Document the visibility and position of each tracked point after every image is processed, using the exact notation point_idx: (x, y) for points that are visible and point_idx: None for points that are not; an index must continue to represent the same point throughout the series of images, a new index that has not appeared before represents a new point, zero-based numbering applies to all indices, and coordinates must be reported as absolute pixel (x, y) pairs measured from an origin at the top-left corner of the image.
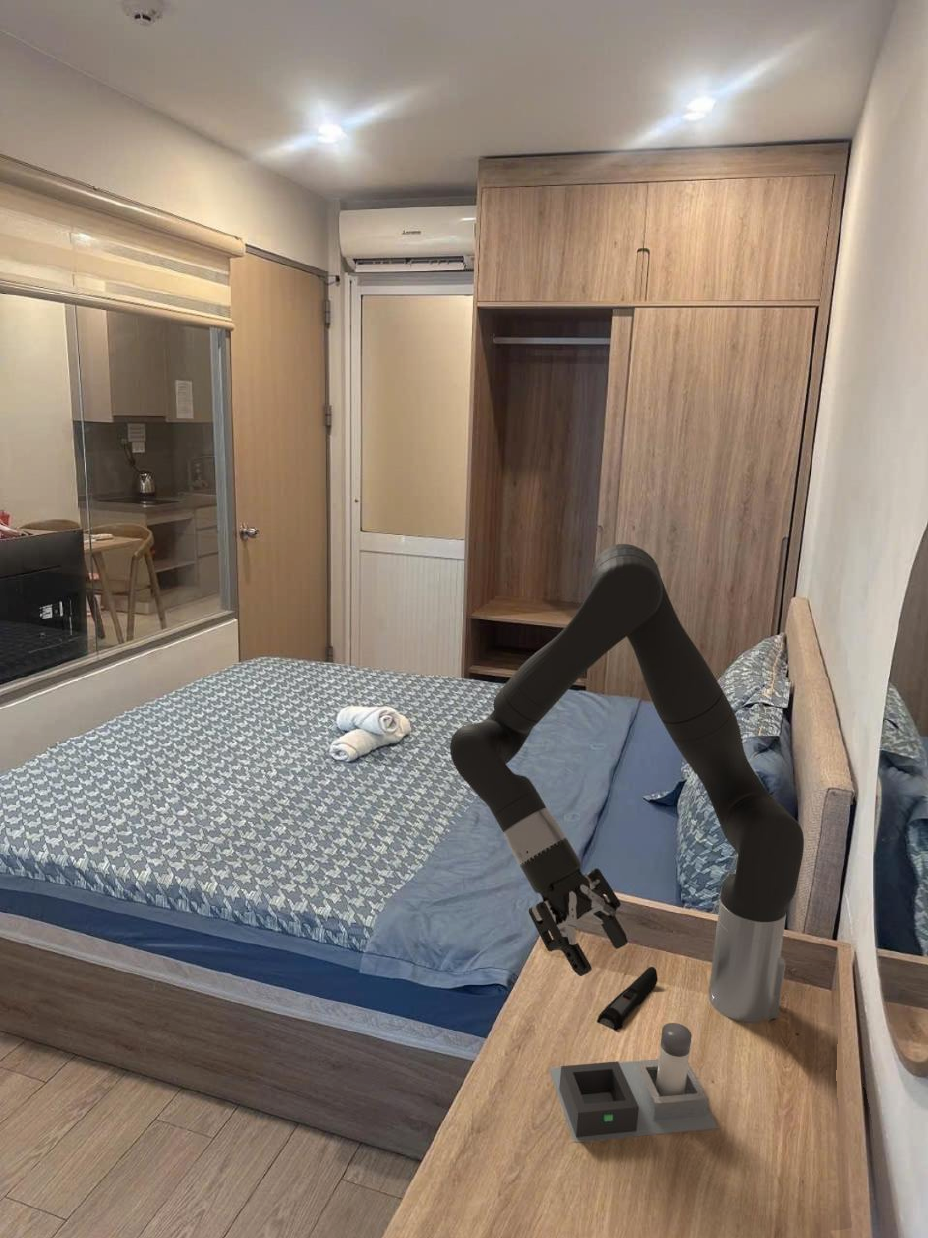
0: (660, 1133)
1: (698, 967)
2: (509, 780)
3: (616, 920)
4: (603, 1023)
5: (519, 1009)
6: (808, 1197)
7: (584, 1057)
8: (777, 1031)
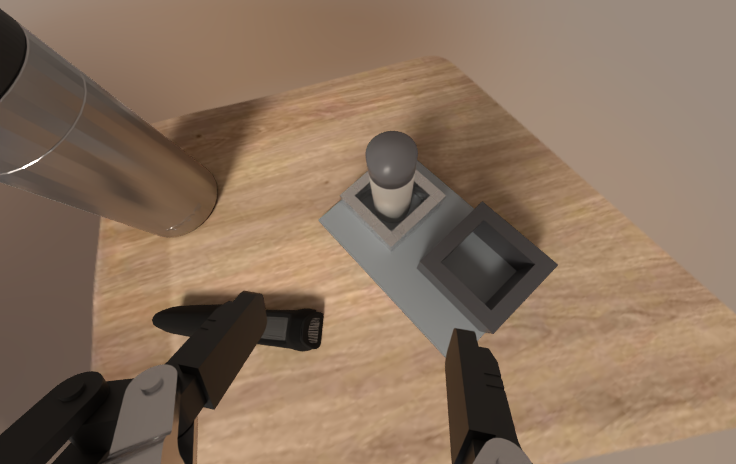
0: (454, 192)
1: (114, 271)
2: None
3: (179, 355)
4: (313, 336)
5: None
6: (419, 71)
7: (384, 334)
8: (204, 153)
